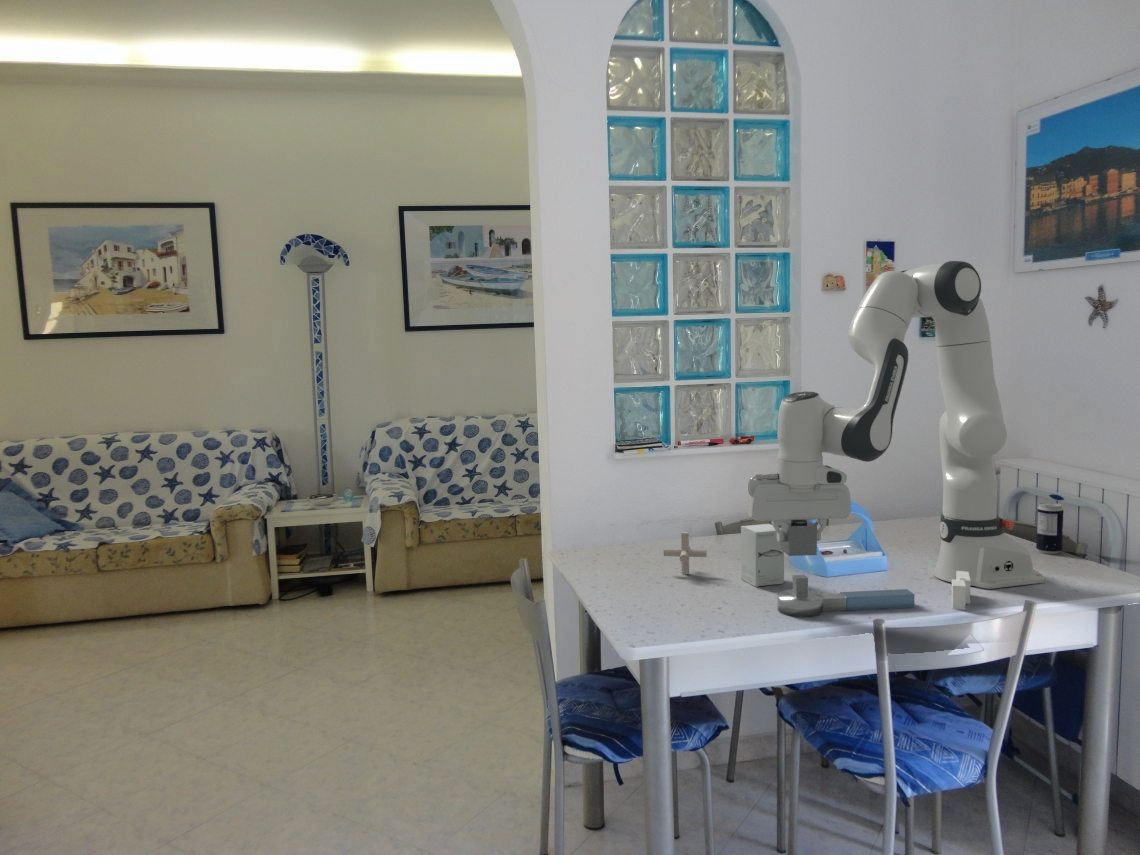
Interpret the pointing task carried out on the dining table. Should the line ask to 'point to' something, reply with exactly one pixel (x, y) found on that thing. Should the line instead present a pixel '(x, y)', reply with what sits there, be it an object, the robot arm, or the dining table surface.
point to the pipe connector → (685, 552)
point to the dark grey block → (799, 537)
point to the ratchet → (838, 600)
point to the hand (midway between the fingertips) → (798, 540)
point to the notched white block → (960, 590)
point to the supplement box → (761, 555)
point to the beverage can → (1049, 528)
